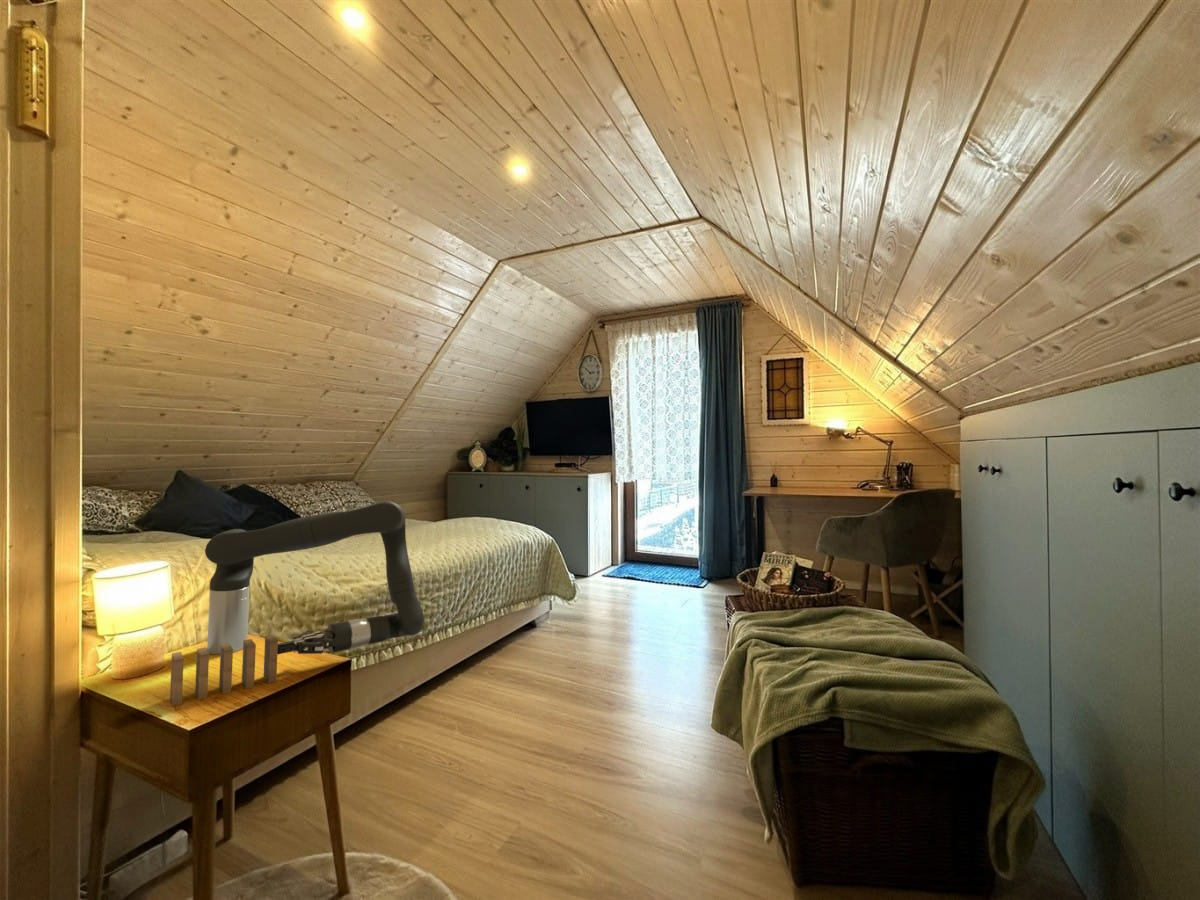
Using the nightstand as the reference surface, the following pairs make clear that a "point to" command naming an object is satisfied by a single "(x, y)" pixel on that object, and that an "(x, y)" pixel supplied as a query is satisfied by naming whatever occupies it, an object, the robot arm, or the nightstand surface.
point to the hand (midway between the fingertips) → (275, 649)
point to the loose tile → (270, 658)
